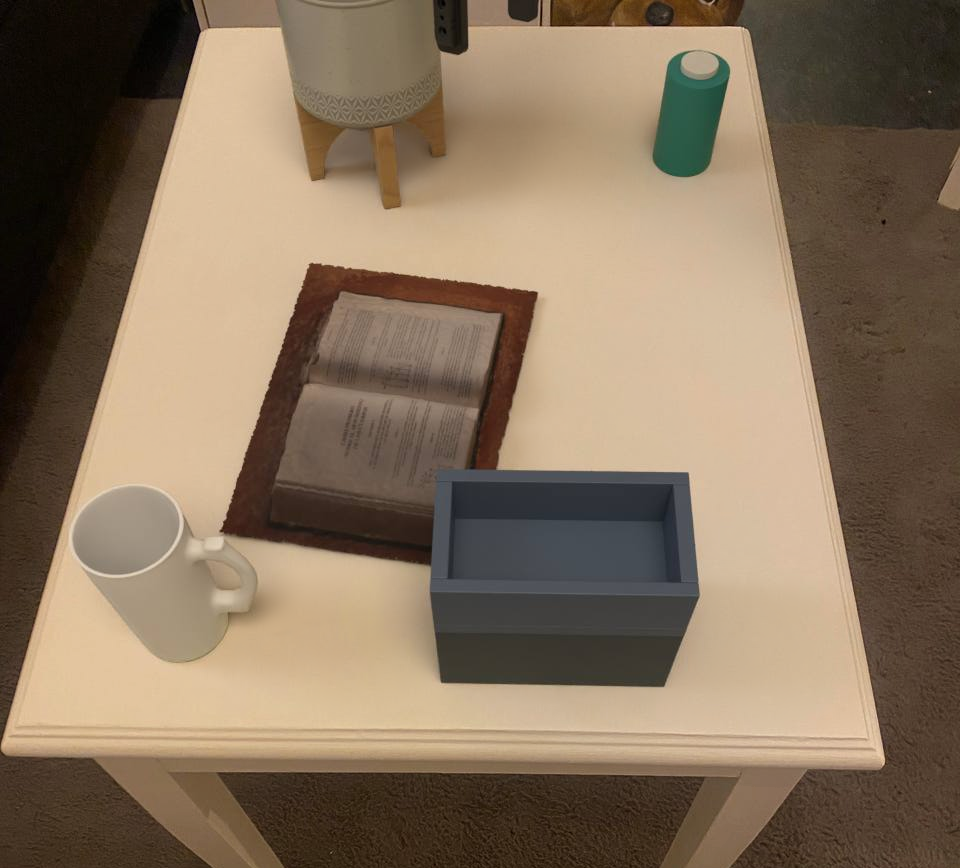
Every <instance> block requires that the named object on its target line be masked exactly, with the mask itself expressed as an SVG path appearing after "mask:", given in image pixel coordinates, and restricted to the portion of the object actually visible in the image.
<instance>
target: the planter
mask: <svg viewBox="0 0 960 868" xmlns="http://www.w3.org/2000/svg"><path fill="white" fill-rule="evenodd" d="M275 6H276V12H277V16H278V20H279V27H280V31H281V36H282V37H281V38H282V42H283V47H284V52H285V58H286V62H287V66H288V71H289V77H290V82H291V87H292V94H293V100H294V104H295V108H296V109H295V110H296V115H297V119H298V124H299V128H300V129H299V130H300V135H301V140H302V144H303V149H304V154H305V161H306V165H307V171H308V174H309V177H310V180H311V181H317V180H322V179H323V180H324V179H325V177H326V176H325V164H326V160H327V159H326V158H327V156H328V153H329V150H330V149H331V146H332V145H333V144H334V142H335V140H336V139H337V138H338V137H339V136H340V135H342V133H343V132H345V130H352V131H363V132H364V131H367V132H368V137H369V140H370V145H371V149H372V154H373V157H374V162H375V163H374V164H375V167H376V168H375V169H376V174H377V178H378V184H379V190H380V196H381V202H382V205H383V209H384V210H387V209H392V208H397V207H401V206H402V203H401V194H400V193H401V192H400V183H399V175H398V167H397V166H398V165H397V156H396V148H395V147H396V146H395V136H394V126H397V125H399V124H401V123H403V122H405V121H407V122H409V123H411V124H412V125H414V126H415V127H416V128H418V129H419V130H420V131H421V132H422V133H423V135H424V136H425V138H426V139H427V141H428V147H429V151H430V154H431V156H432V157H433V158H436V157H443V156H446V155H447V151H446V149H447V148H446V132H445V114H444V111H445V109H444V94H443V93H444V92H443V73H442V57H441V56H442V55H441V52H442V51H440V50H439V48H438V46H437V42H436V39H435V33H434V27H435V26H434V11H433V0H275Z"/></svg>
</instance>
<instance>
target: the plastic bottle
mask: <svg viewBox="0 0 960 868" xmlns="http://www.w3.org/2000/svg"><path fill="white" fill-rule="evenodd" d="M730 76H731V68H730V64H729V63H728V61H727V60H726V59H725V58H723V57H722V56H721V55H718V53H717V54H716V53H714V52H711V51H708V50H702V49H701V50H700V49H691V50H687V51H682V52H680V53H677V54H675V55H674V56H672V57H671V59H669V61H668V63H667V66H666V72H665V78H664V85H663V91H662V96H661V103H660V108H659V116H658V122H657V126H656V133H655V140H654V146H653V151H652V159H653V162H654V164H655V166H656V167H657V168H658V169H659V170H660V171H662V172H663V173H665V174H668V175H671V176H675V177H683V178H684V177H685V178H686V177H693V176H696V175H699V174H701V173H703V172H704V171H705V170H707V169H708V168H709V166H710V164H711V162H712V156H713V152H714V148H715V143H716V138H717V135H718V130H719V125H720V121H721V116H722V111H723V108H724V102H725V100H726V94H727V90H728V85H729V81H730Z"/></svg>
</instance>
